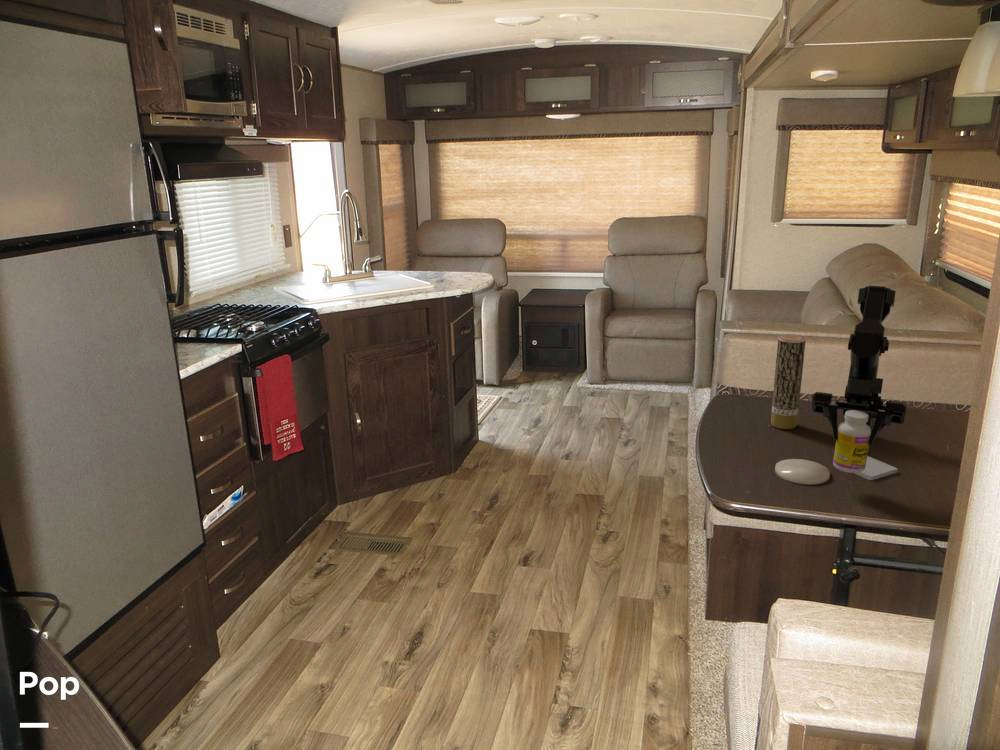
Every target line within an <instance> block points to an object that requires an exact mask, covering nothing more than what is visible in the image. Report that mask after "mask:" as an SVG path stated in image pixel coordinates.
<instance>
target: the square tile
mask: <svg viewBox="0 0 1000 750" xmlns="http://www.w3.org/2000/svg"><path fill="white" fill-rule="evenodd" d="M898 469H899V468H897V467H895V466H892V465H890V464H888V463H886V462H883V461H880V460H878V459H876V458H874V457H871V456H868V455H867V461H866V466H865V469H864V471H862V472H858V473H854V474H855V475H857V476H858V477H861V478H864V479H866V480H869V481H870V480H872V481H875V480H877V479H881V478H884V477H887V476H890V475H891V476H892V475H894V474H896V473H898ZM874 479H875V480H874Z"/></svg>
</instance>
